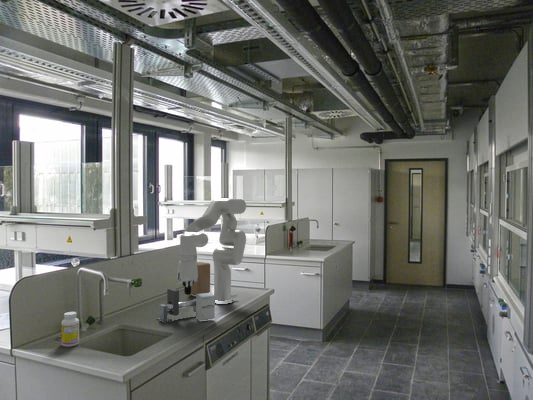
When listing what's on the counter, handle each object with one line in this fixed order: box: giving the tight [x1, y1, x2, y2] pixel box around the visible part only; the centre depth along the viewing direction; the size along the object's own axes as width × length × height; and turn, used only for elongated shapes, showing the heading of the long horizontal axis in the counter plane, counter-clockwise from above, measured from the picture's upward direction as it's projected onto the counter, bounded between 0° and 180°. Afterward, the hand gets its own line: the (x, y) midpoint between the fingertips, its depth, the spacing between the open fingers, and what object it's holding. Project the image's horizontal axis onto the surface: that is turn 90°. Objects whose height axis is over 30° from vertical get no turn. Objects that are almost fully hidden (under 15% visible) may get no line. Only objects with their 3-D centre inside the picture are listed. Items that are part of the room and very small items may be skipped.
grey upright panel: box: [166, 287, 180, 316], centre depth 218 cm, size 2×7×12 cm, turn 41°
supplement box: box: [195, 292, 216, 320], centre depth 216 cm, size 7×7×13 cm
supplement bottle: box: [60, 311, 80, 348], centre depth 179 cm, size 7×7×13 cm
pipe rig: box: [156, 298, 196, 323], centre depth 220 cm, size 22×8×8 cm, turn 131°
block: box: [191, 261, 211, 295], centre depth 267 cm, size 10×10×20 cm
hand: (187, 294), depth 223 cm, fingers closed
